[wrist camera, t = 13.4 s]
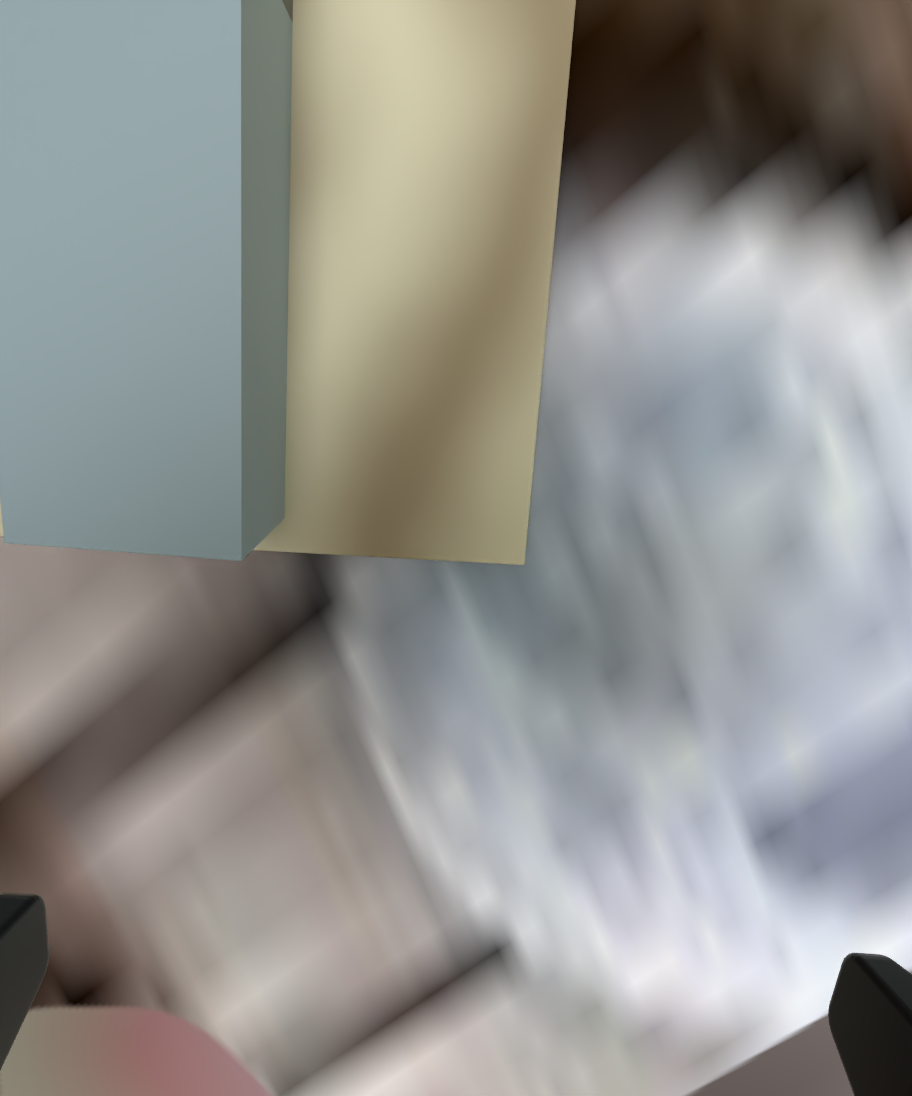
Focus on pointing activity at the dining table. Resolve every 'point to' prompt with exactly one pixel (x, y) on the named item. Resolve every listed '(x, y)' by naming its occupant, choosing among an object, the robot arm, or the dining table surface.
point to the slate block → (144, 273)
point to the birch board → (419, 272)
